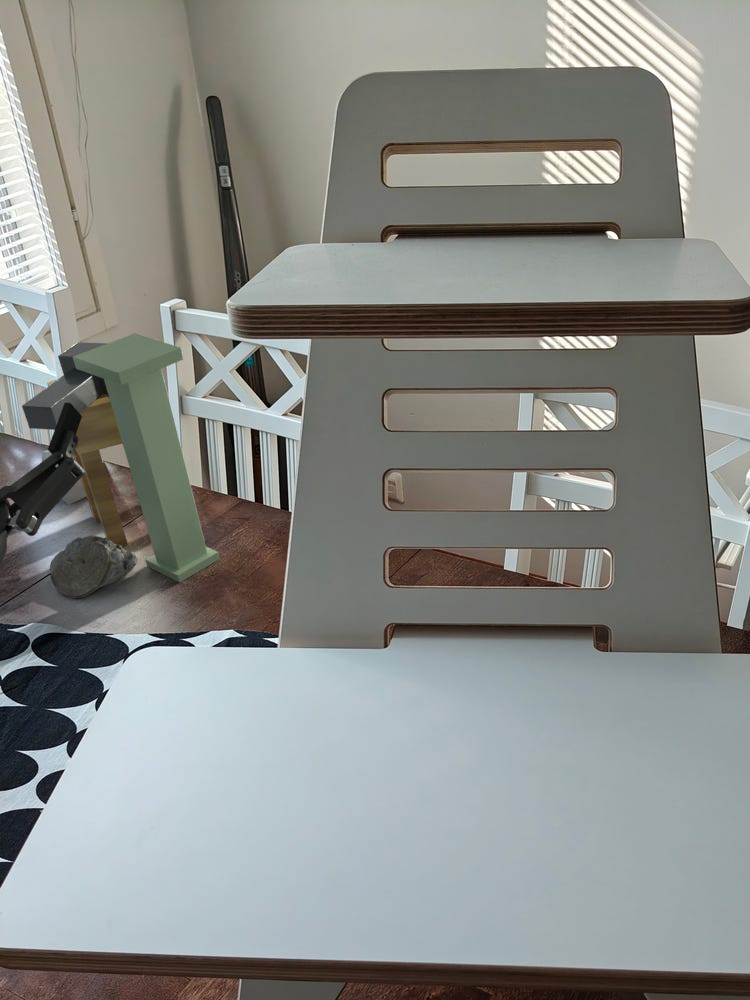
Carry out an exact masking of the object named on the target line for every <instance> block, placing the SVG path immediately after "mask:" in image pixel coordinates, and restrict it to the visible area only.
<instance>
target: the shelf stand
mask: <svg viewBox="0 0 750 1000" xmlns="http://www.w3.org/2000/svg"><path fill="white" fill-rule="evenodd" d="M73 360H74V363H75V367H76V369H78V370H81V371H84V372H87V373H89V374H92V375H95V376H98V377H101V378H103V379H104V381H105V384H106V388H107V391H108V395H109V398H110V402H111V405H112V409H113V412H114V415H115V419H116V422H117V426H118V429H119V433H120V436H121V440H122V443H123V444H122V446H123V447H122V448H123V449H124V453H125V456H126V460H127V463H128V467H129V470H130V474H131V477H132V481H133V485H134V488H135V492H136V494H137V495H136V496H137V499H138V502H139V505H140V508H141V512H142V516H143V519H144V523H145V526H146V530H147V532H148V536H149V540H150V543H151V547H152V550H153V553H154V554H153V555H151V556H148V557H146V558H145V563H146V567H147V568H149V569H151V570H153V571H155V572H157V573H159V574H161V575H162V576H165V577H167V578H169V579H171V580H173V581H175V582H177V583H179V584H180V583H182V582H184V581H185V580H187V579H189V578H190V577H192V576H194V575H196V574H197V573H199V572H201V571H203V570H204V569H206V568H207V567H209V566H211V565H212V564H214V563H216V562H218V561H219V560H220V554H219V552H218V551H217V550H214V549H213V548H210V547H209V546H207V545H206V542H205V537H204V533H203V530H202V529H203V528H202V526H201V522H200V517H199V513H198V509H197V505H196V502H195V501H196V500H195V498H194V494H193V490H192V485H191V481H190V476H189V474H188V469H187V466H186V462H185V457H184V453H183V450H182V446H181V441H180V438H179V433H178V430H177V429H178V428H177V426H176V421H175V417H174V413H173V408H172V406H171V402H170V397H169V393H168V389H167V386H166V381H165V378H164V374H163V369H165V368H166V367H169V366H171V365H174V364H176V363H178V362H180V361H183V360H184V355H183V352H182V347H180V346H177V345H173V344H170V343H167V342H165V341H162V340H157V339H155V338H151V337H148V336H144V335H141V334H139V333H132V334H129V335H126V336H124V337H121V338H118V339H117V340H114V341H111V342H108V344H105V345H103V346H100V347H97V348H95V349H92V350H89V351H87V352H84V353H82V354H79V355H76V356H74V357H73Z"/></svg>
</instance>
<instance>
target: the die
mask: <svg viewBox="0 0 750 1000" xmlns="http://www.w3.org/2000/svg"><path fill="white" fill-rule="evenodd" d="M51 455H52V454H51V453H50V452H49V451H48V449H45V450H43V451H42V455H41V462H43V461H44V460H45V459H47V458H48V457H49V456H51ZM73 459H74V456H73ZM74 460H75V459H74ZM102 461H103V462H104V460H103V459H102ZM57 466H59V465H58V464H57V465H56V467H57ZM85 498H87V496H86V493H85V490H84V487H83V484H82V481H81V478H80V479H79V480H78V482H77V483H76V484H75V485H74V486H73V487H72V488H71V489H70V490H69V492H68V493H67V494H66V495H65V496H64V497H63V498H62V499H61V501H63V502H64V503H66V504H67V505H69V506H70V505H71V504H75V503H76V502H78V501H81V500H83V499H85Z"/></svg>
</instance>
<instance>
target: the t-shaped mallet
mask: <svg viewBox="0 0 750 1000" xmlns="http://www.w3.org/2000/svg"><path fill="white" fill-rule="evenodd" d="M108 343H109V342H108ZM108 343H107V342H85V341H84V342H81V341H78V342H76V343H74V344H73V345H72V346H70V347H68V348H66V350H65V351H63V352H62V353H60V354H58V355H57V357H58V361H59V364H60V367H61V371H62V376H60V377H58V379H55V380H56V381H55V382H54V383H52V384H51V385H50V386H48V385H47V387H45V388H44V389H42V390H41V391H40V392H39V393H38V394H36V395H34V396H33V397H31V398H30V399H29V400H27V401H26V402H25V403H24V404H22V405H21V407H22V411H23V413H24V416H25V419H26V422H27V425H28V428H29V429H33V430H35V429H37V430H52V431H55V428H56V425H57V422H58V420H59V417H60V414H61V411H62V409H63V406H64V403H71V404H72V405H73V406H74V407H75V409H76V410H77V411H78V412H79V413H80V412H81V411H82V410H84V409H85V408H86V407H87V406H88V405H90V404H91V403H92V402H93V401H95V400H96V399H97V398H98V397H100V396H101V395H102V394H108V391H107V388H106V384H105V381H104V379H103V378H101V377H98V376H95V375H92V374H89V373H87V372H84V371H81V370H78V369H76V367H75V363H74V360H73V357H74V356H76V355H79V354H82V353H84V352H87V351H89V350H92V349H95V348H97V347H100V346H103V345H105V344H108Z"/></svg>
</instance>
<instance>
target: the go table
mask: <svg viewBox="0 0 750 1000" xmlns="http://www.w3.org/2000/svg"><path fill="white" fill-rule="evenodd" d="M56 380H57V379H54V380H50V381H47V382H46V384H47V387H48V386H50V385H51V384H52V383H54V382H55V381H56ZM80 414H81V416H82V418H81V421H80V424H79V427H78V430H77V432H76V436H77V437H78V444H77V447H76V449H75V452H74V455H73V456H74V459H75V461H76V462H77V463H78V464H79V465H80V466H81V467H82V468H83V469H84V471H85V473H84V475H83V476H82V477H81V481H82V484H83V487H84V490H85V493H86V496H87V497H86V499H87V502H88V506H89V509H90V511H91V514H92V518H93V519H94V521H95V523H100V524H101V528H102V530H103V531H102V532H103V533H104V536H105V537H104V538H105V539H108V540H111V541H112V543H114V544H117V545H121V546H122V547H124V546H128V545H129V543H128V540H127V537H126V533H125V530H124V527H123V524H122V523H123V522H122V520H121V517H120V513H119V510H118V507H117V504H116V501H115V497H114V493H113V491H112V487H111V484H110V480H109V478H108V475H107V471H106V469H105V465H104V460H103V458H102V454H101V452H100V450H103V449H107V448H111V447H115V446H118V445H123V443H122V440H121V436H120V433H119V429H118V426H117V422H116V419H115V415H114V412H113V409H112V405H111V402H110V398H109V395H108V394H102V395H101V396H100V397H98V398H97V399H96V400H95V401H93V402H92V403H91V404H90V405H88V406H87V407H86V408H85V409H84V410H82V411H81V412H80ZM102 460H103V461H102Z"/></svg>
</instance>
